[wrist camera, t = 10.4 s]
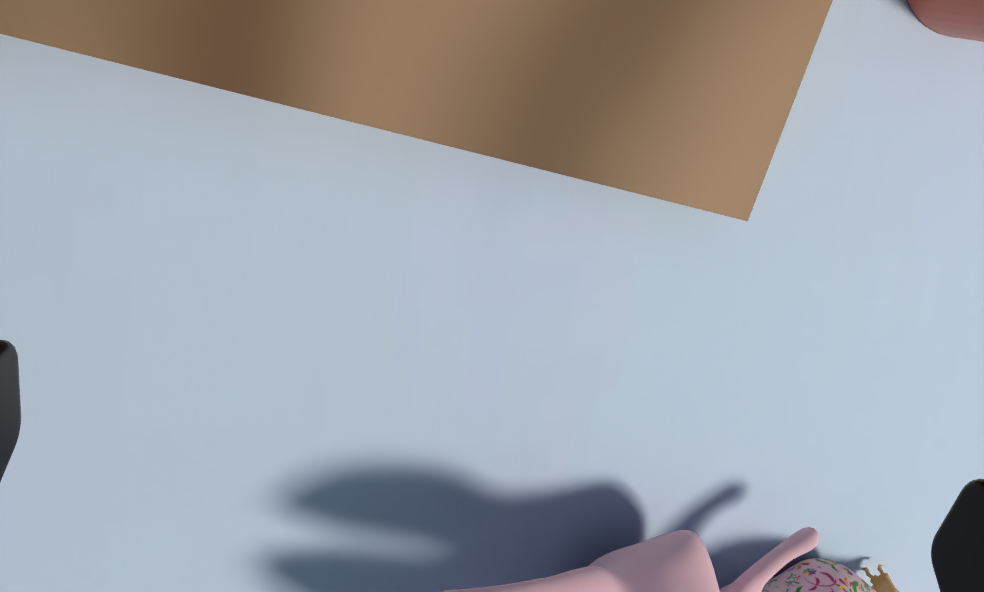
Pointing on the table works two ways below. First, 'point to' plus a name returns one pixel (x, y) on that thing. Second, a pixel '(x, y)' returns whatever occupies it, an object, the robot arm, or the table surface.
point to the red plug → (952, 17)
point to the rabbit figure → (701, 571)
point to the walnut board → (493, 75)
